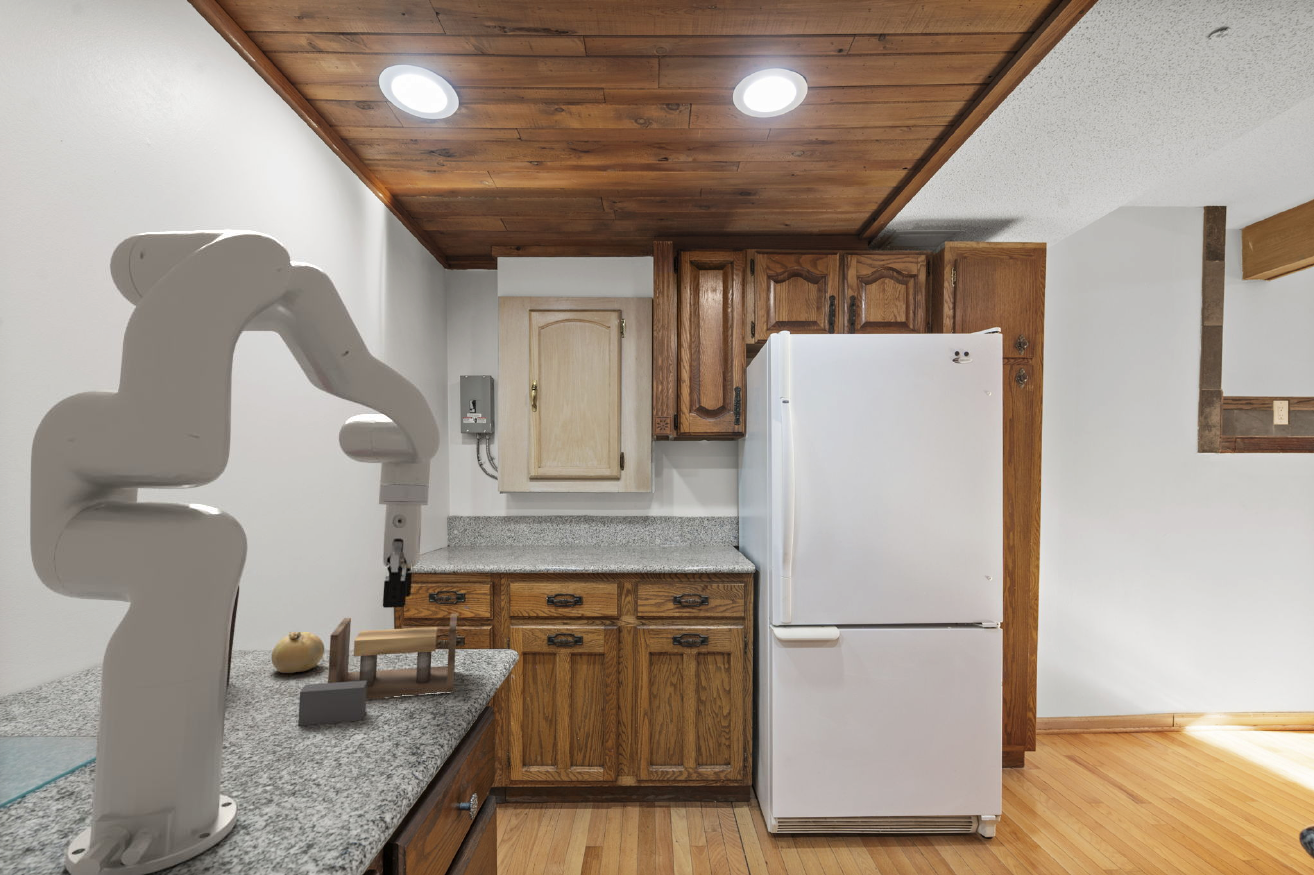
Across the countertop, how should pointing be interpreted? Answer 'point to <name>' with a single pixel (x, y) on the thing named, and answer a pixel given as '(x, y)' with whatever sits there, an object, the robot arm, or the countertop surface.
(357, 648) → the oak board
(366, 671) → the shelf cradle
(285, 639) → the onion
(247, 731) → the countertop surface
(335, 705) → the block
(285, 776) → the countertop surface
